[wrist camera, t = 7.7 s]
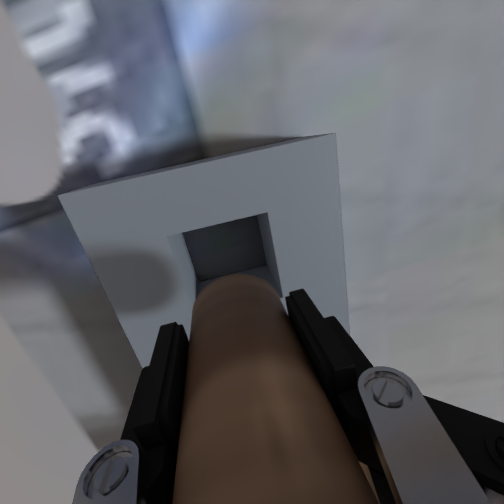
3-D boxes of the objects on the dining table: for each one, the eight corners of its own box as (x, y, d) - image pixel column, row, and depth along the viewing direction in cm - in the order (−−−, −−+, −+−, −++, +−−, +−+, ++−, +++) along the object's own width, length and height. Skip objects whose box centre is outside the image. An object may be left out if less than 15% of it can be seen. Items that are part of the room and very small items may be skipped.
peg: (180, 287, 11) (19, 1043, 2) (273, 263, 11) (584, 804, 2) (206, 360, 12) (197, 966, 3) (287, 337, 13) (499, 838, 3)
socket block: (97, 182, 17) (57, 195, 13) (303, 136, 18) (335, 133, 13) (193, 409, 26) (190, 465, 21) (330, 370, 27) (355, 416, 22)
